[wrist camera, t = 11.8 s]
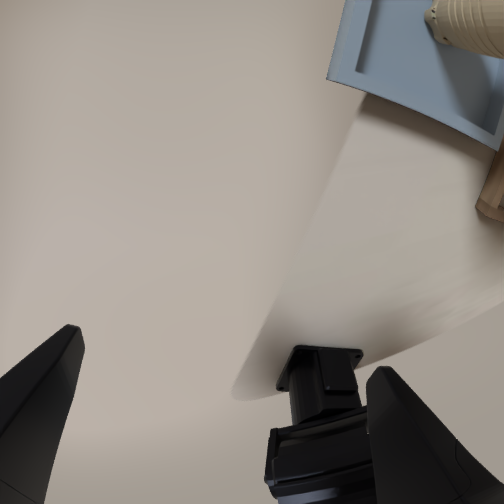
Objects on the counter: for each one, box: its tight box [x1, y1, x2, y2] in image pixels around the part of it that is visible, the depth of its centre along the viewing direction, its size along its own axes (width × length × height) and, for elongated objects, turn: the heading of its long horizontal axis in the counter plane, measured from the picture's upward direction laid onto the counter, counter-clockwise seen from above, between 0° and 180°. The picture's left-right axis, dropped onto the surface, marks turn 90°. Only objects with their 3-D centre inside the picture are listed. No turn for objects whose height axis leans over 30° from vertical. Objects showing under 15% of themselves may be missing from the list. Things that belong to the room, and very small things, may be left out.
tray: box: [326, 0, 504, 151], centre depth 12 cm, size 13×12×2 cm
